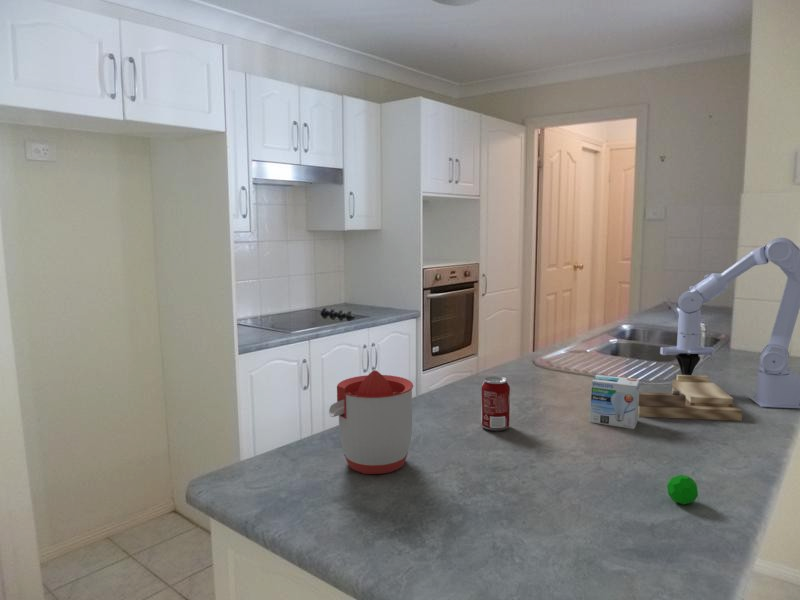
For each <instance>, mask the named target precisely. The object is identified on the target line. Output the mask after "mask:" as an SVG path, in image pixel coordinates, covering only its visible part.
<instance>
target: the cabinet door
mask: <svg viewBox="0 0 800 600" xmlns="http://www.w3.org/2000/svg"><path fill="white" fill-rule="evenodd" d="M685 401H686V396H685V395H684V394H680V391H673V393H672V392H647V391H646V392H645V391H639V406H657V407H682V408H685Z"/></svg>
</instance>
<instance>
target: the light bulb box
mask: <svg viewBox="0 0 800 600" xmlns="http://www.w3.org/2000/svg"><path fill="white" fill-rule="evenodd" d="M640 381H641V380H640V378H630V377H623V376H622V377H621V376H613V375H602V374H595V376H594V377H593V379H592V381H591V385H590V386H591V387H590V407H589V423H592V424H593V423H594V424H600V425H606V426H613V427H619V428H624V429H629V430H634V429H635V428H636V426H637V423H638V421H639V415H638V406H639V392H640V388H641V387H640V385H641V383H640Z"/></svg>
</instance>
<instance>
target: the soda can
mask: <svg viewBox="0 0 800 600" xmlns="http://www.w3.org/2000/svg"><path fill="white" fill-rule="evenodd" d="M480 389H481V390H480V391H481V392H480V396H481V397H480V404H481V405H480V425H481V427H482V428H484V429H486V430H488V431H492V432H501V431H504V430H506V429H508V428H510V409H511V408H510V403H511V402H510V401H511V393H510V392H511V387H510V385H509V383H508V379H507V378H506V377H503V376H496V375H495V376H493V375H492V376H491V375H490V376H486V377H484V378H483V383H482V384H481V388H480Z"/></svg>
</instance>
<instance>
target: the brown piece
mask: <svg viewBox="0 0 800 600" xmlns="http://www.w3.org/2000/svg"><path fill="white" fill-rule="evenodd" d="M673 391H678V390H677V389H676V388H675V387H674V386H673V385H672V386H671V393H673ZM680 394H681V393H680ZM638 417H644V418H645V417H647V418H670V419H689V420H690V419H694V420H695V419H696V420H715V421H739V422H740V421H742V419H743V410H742V409H741V408H740V407H739V406H738V407H737V406H736V407H735V406H734V403H733V404H712V403H690V402H689V401H688V400H687V399H686V401H685V408H682V407H657V406H638Z"/></svg>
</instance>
